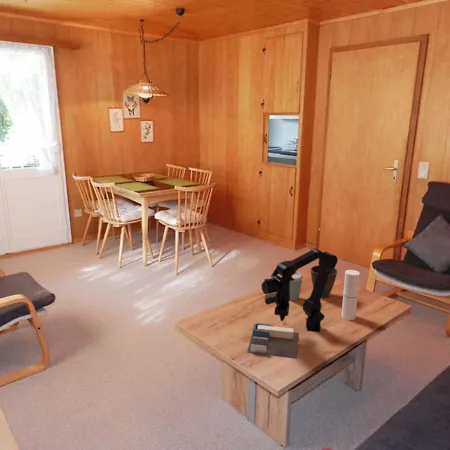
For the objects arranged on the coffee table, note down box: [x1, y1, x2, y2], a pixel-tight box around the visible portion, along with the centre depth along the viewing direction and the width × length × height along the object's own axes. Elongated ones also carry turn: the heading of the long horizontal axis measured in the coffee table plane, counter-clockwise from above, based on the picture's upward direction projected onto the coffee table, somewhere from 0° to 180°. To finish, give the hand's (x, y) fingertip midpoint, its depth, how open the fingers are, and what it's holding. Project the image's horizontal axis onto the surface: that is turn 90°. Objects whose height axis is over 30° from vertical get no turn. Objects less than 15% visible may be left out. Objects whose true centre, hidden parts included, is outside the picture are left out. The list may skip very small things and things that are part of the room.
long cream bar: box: [257, 325, 295, 339], centre depth 196 cm, size 17×4×4 cm, turn 79°
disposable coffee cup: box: [290, 271, 304, 302], centre depth 235 cm, size 11×11×15 cm
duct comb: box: [246, 322, 300, 360], centre depth 190 cm, size 22×22×4 cm
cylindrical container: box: [340, 269, 361, 321], centre depth 213 cm, size 7×7×25 cm
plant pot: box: [310, 264, 338, 299], centre depth 239 cm, size 15×15×16 cm
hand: (281, 320), depth 194 cm, fingers closed
